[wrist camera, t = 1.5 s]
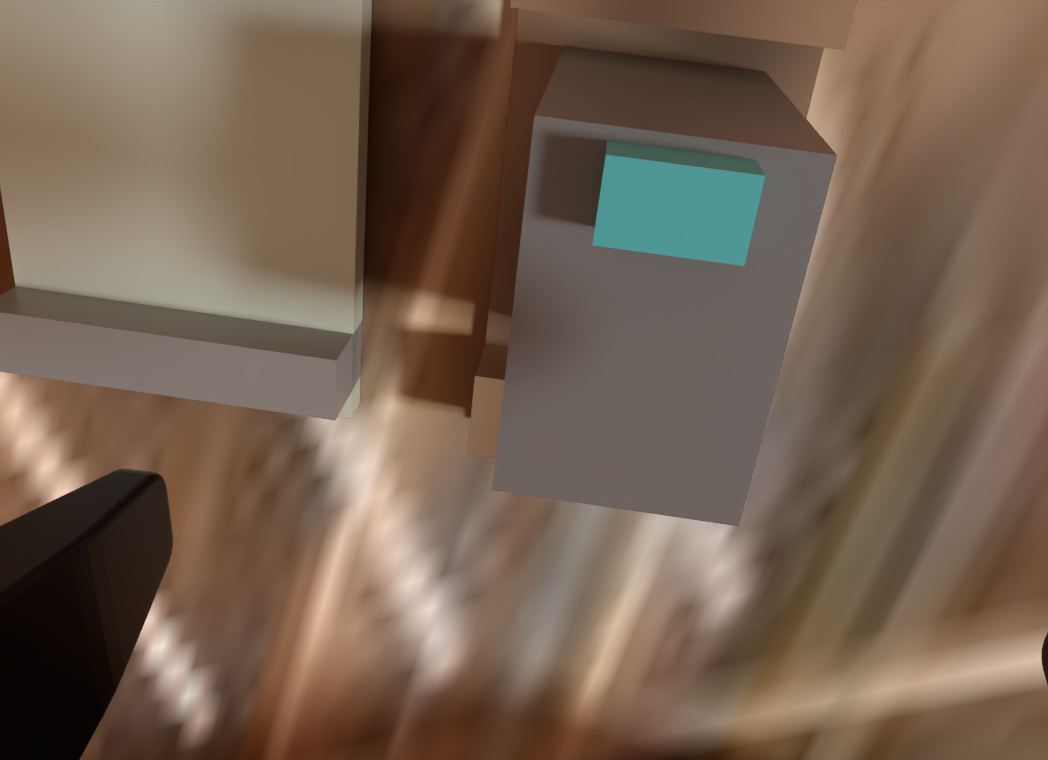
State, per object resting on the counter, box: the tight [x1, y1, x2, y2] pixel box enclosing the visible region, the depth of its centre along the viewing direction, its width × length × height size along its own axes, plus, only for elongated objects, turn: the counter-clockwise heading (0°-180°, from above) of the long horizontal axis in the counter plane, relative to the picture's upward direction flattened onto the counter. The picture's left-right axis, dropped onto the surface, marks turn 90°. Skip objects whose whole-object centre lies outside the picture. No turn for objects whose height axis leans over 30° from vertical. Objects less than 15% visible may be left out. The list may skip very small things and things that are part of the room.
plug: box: [492, 46, 837, 526], centre depth 16 cm, size 4×6×8 cm, turn 174°
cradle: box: [0, 0, 372, 420], centre depth 19 cm, size 8×12×2 cm, turn 174°
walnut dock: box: [467, 0, 857, 458], centre depth 19 cm, size 6×12×2 cm, turn 174°
